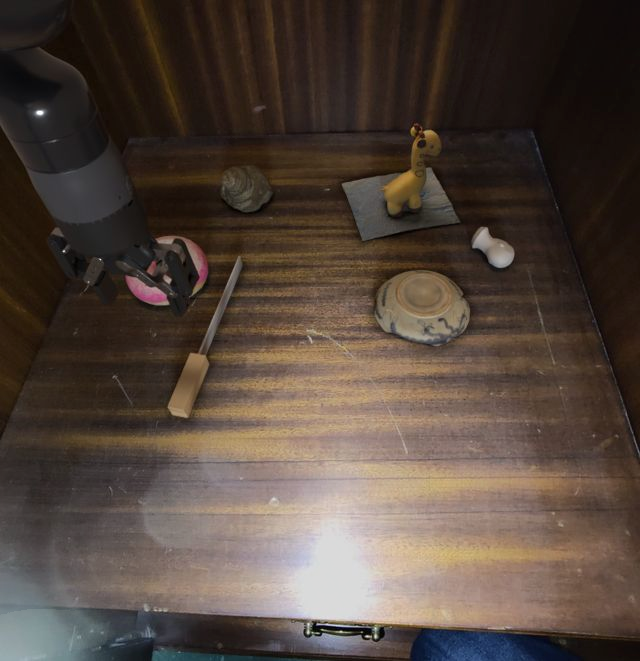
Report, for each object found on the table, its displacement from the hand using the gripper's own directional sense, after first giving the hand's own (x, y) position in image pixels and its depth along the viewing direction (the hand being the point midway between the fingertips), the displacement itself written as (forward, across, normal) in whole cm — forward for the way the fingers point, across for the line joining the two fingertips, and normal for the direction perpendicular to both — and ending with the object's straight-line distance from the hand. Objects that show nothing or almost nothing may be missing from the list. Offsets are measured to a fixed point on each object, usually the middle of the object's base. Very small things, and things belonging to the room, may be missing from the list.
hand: (147, 305), depth 58 cm
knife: (+20, 0, +10) cm, 23 cm away
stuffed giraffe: (+20, +24, +45) cm, 55 cm away
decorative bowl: (+20, +31, +21) cm, 43 cm away
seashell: (+20, -3, +43) cm, 47 cm away
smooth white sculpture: (+20, +41, +35) cm, 58 cm away
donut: (+20, -11, +20) cm, 30 cm away
